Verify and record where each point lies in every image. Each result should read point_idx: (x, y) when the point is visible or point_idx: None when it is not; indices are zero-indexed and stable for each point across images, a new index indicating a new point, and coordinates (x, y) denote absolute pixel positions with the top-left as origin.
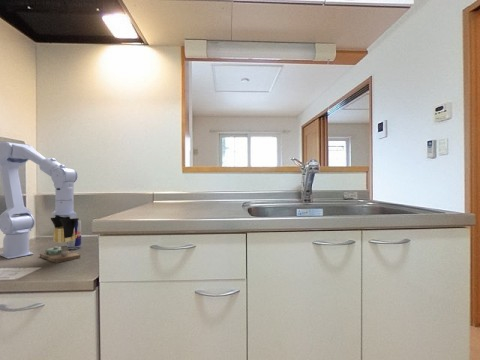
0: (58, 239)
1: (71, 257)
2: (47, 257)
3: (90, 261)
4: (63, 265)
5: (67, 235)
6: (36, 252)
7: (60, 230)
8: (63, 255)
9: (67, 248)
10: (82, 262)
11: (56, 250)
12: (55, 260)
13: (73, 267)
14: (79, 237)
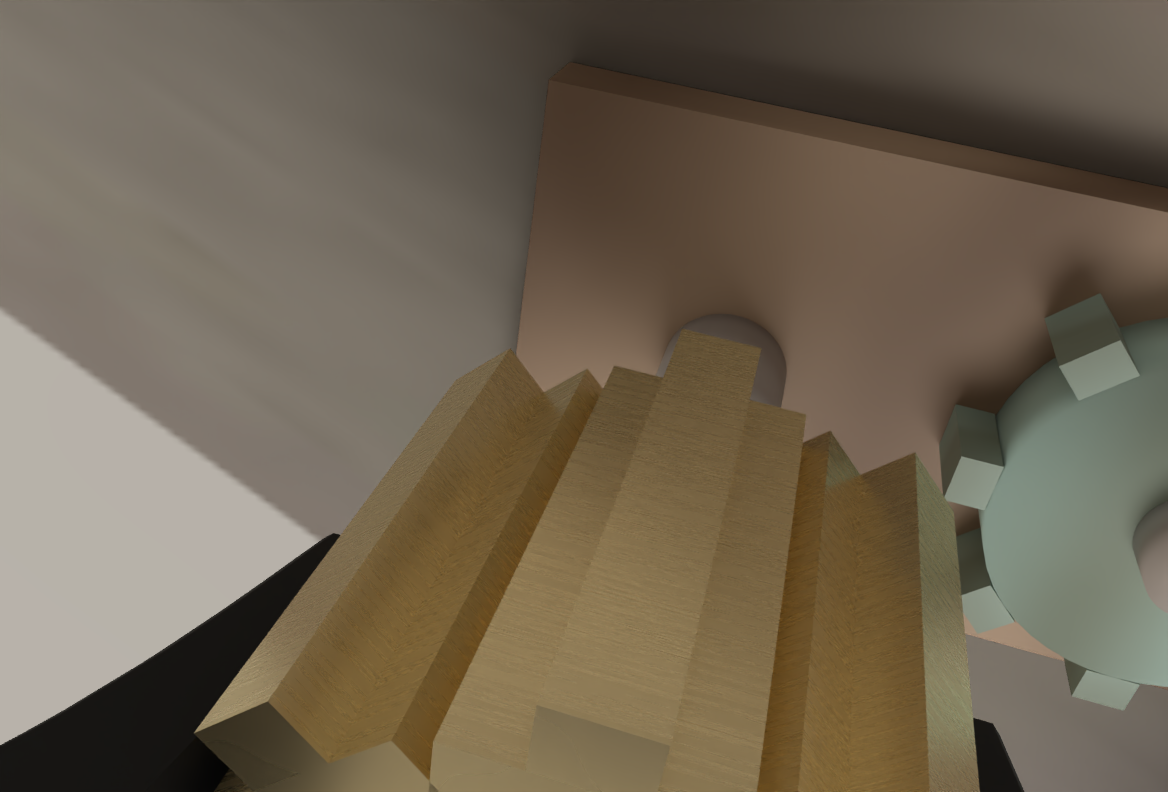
0: (542, 432)
1: (521, 356)
2: (1060, 181)
3: (161, 363)
4: (282, 12)
5: None
6: None
7: (265, 660)
8: (679, 333)
9: None
10: (203, 280)
11: (1027, 443)
12: (604, 83)
13: (13, 5)
14: None
